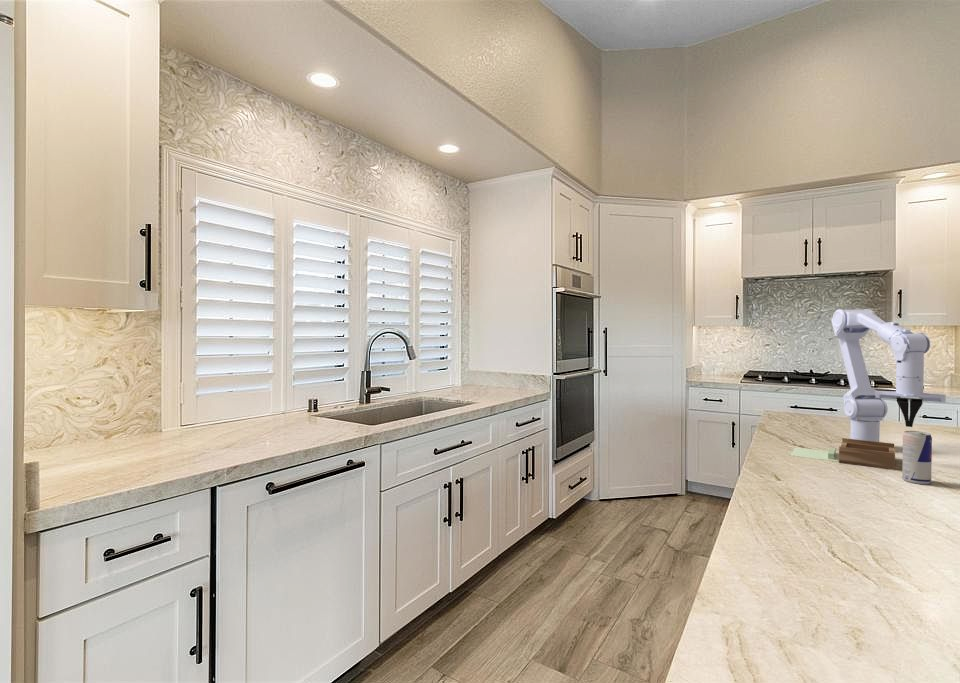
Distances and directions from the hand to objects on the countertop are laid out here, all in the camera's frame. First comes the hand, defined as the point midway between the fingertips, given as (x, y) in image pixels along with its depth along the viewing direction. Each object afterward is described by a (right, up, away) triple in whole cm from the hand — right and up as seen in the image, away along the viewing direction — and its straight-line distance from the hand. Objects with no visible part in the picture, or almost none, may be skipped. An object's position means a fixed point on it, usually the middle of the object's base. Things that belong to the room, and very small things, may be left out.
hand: (908, 426), depth 137 cm
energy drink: (-11, -11, -15) cm, 22 cm away
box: (-9, -10, +4) cm, 14 cm away
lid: (-18, -11, +11) cm, 24 cm away
